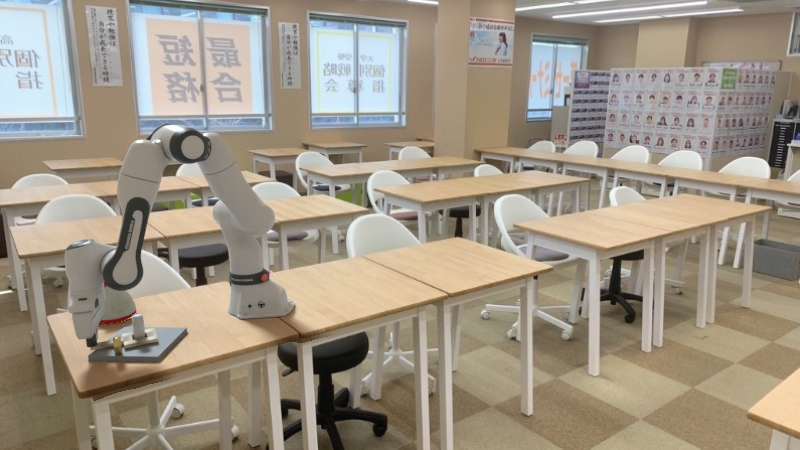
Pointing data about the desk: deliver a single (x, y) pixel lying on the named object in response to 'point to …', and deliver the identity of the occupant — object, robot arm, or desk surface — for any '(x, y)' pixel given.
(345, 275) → the desk surface
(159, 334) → the board
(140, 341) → the knobbed lever handle
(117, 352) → the gold rounded cylinder
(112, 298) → the kitchen timer
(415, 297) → the desk surface
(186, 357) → the desk surface
